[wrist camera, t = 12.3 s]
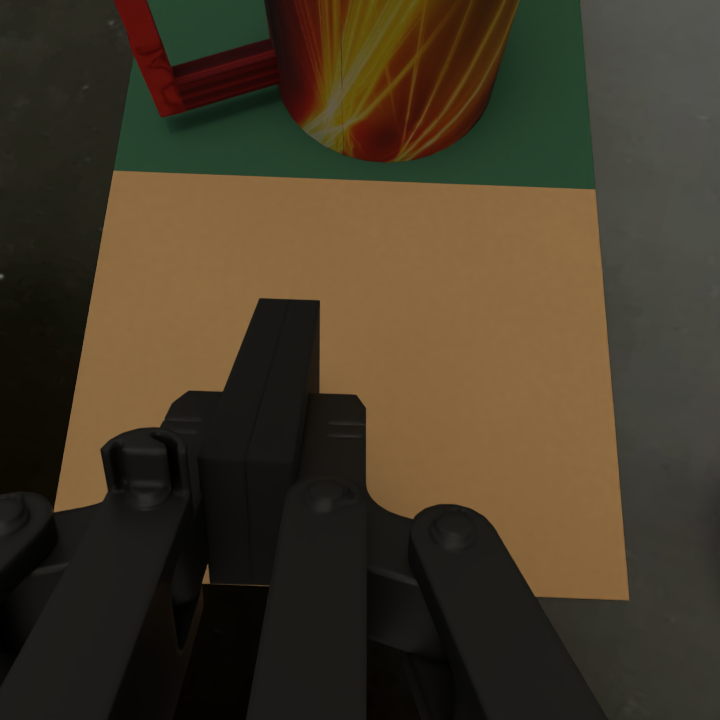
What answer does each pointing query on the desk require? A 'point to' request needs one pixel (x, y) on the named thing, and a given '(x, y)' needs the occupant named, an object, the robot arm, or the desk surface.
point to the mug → (348, 69)
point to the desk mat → (378, 291)
